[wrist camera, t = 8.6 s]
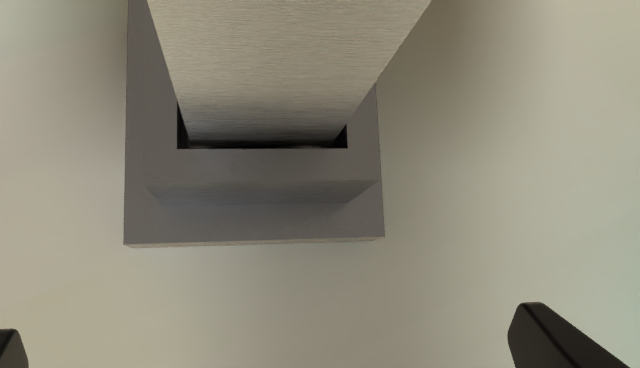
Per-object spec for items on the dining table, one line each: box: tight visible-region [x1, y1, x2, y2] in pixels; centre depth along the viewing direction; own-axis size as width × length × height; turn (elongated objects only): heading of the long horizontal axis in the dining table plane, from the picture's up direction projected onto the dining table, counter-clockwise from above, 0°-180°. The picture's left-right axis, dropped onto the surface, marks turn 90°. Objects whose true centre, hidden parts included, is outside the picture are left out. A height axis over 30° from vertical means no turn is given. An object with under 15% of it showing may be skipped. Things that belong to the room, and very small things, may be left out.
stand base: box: [124, 0, 385, 248], centre depth 20 cm, size 10×10×8 cm
